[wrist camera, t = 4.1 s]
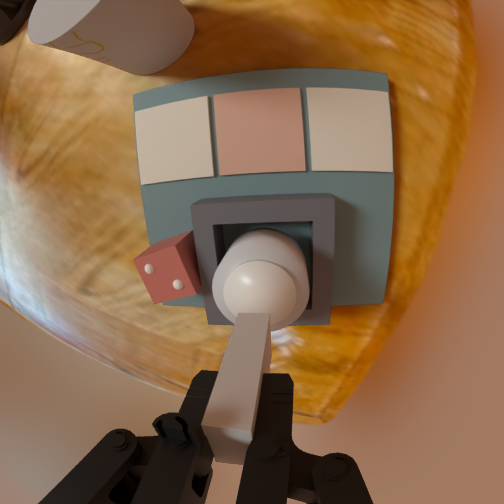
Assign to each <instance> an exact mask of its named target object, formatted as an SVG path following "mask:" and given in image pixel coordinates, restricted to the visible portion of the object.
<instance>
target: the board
mask: <svg viewBox="0 0 504 504" xmlns="http://www.w3.org/2000/svg"><path fill="white" fill-rule="evenodd" d="M133 103H134V123H135V137H136V149H137V160H138V169H139V178H140V186H141V193H142V200H143V207H144V214H145V220H146V226H147V232H148V237H149V243H150V246H152V245H153V244H154V243H157V242H159V241H162V240H165V239H168V238H171V237H173V236H176V235H179V234H182V233H185V232H188V231H191V230H193V233H194V240H195V247H196V254H197V260H198V267H199V273H200V279H201V285H202V286H201V288H200V289H199V291H198V293H197V294H195V295H191V296H187V297H183V298H178V299H174V300H170V301H165V302H163V305H172V306H195V307H205V309H206V314H207V320H208V324H212V325H234V323H232V322H231V321H230V320H228V319H227V318H226V317H225V316H224V315H223V314H222V313H221V311H220V310H219V308H218V307H217V305H216V303H215V300H214V297H213V291H212V282H213V277H214V274H215V272H216V270H217V268H218V266H219V264H220V263H221V261H222V259H223V258H224V256H225V254H226V253H227V251H228V249H229V248H230V246H231V244H232V243H233V242H234V240H235V239H237V238H238V237H239V236H240V235H241V234H243V233H245V232H247V231H249V230H252V229H256V228H273V229H277V230H280V231H282V232H285V233H286V234H288V235H290V236H291V237H292V238H293V239H294V240H295V241H296V242H297V243H298V244H299V246H300V247H301V249H302V251H303V253H304V256H305V261H306V268H307V275H308V282H309V299H308V303H307V305H306V308H305V310H304V311H303V313H302V314H301V315H300V317H299V318H298V319H297V320H296V321H294V322H293V323H292V324H290V325H288V326H299V325H330V314H331V306H349V305H367V304H383V301H384V295H385V289H386V282H387V275H388V267H389V259H390V249H391V239H392V226H393V208H394V141H393V125H392V112H391V102H390V93H389V85H388V78H387V73H379V72H371V71H361V70H348V69H328V68H291V69H270V70H257V71H247V72H238V73H230V74H223V75H216V76H210V77H204V78H199V79H194V80H189V81H184V82H179V83H175V84H171V85H166V86H162V87H158V88H155V89H151V90H147V91H144V92H140V93H137V94H134V95H133Z"/></svg>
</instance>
